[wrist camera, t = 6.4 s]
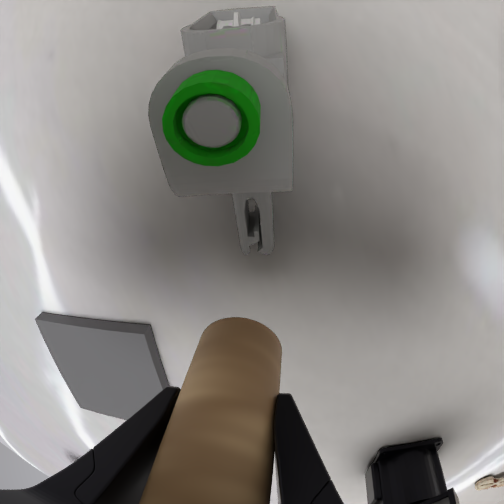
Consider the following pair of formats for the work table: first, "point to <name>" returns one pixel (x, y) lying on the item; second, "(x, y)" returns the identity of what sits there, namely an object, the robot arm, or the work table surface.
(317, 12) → the work table surface
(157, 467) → the dowel
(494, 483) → the hand mirror
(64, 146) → the work table surface
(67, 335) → the mat
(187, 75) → the mechanical component
